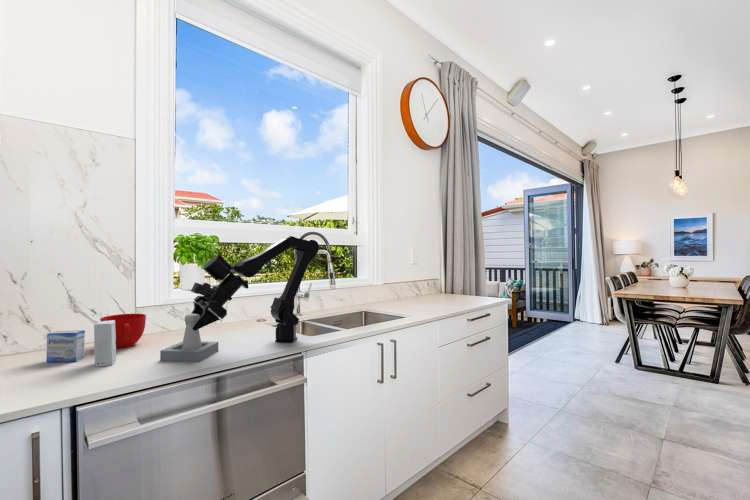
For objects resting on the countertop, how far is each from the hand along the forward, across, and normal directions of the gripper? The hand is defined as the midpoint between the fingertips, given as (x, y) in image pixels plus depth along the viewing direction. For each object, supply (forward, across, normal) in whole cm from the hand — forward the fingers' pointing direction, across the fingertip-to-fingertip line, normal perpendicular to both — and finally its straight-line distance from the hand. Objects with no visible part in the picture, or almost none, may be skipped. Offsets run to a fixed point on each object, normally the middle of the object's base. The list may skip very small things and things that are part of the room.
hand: (189, 327), depth 117 cm
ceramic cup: (+17, -25, -4) cm, 30 cm away
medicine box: (+28, -17, -15) cm, 36 cm away
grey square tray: (+6, 0, +6) cm, 9 cm away
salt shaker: (+6, 0, +7) cm, 9 cm away
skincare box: (+21, -6, -9) cm, 24 cm away
